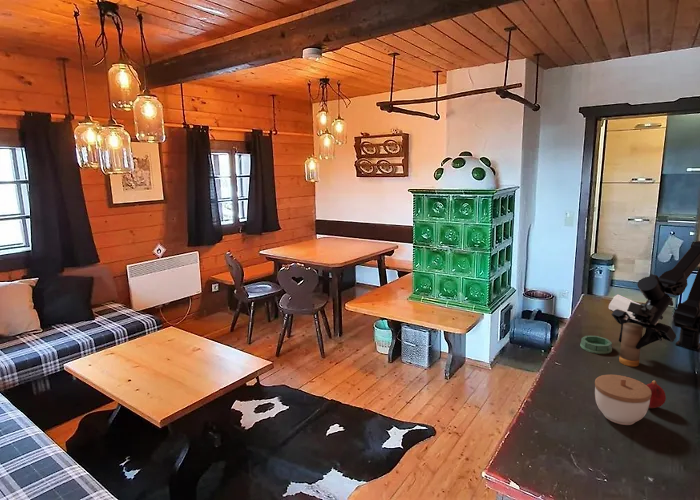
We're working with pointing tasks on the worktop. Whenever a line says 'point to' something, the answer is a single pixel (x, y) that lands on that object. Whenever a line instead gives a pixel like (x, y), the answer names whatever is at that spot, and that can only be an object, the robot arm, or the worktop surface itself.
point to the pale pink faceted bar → (621, 304)
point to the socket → (596, 344)
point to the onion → (656, 395)
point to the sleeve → (630, 344)
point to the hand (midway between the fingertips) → (627, 344)
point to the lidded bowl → (622, 398)
